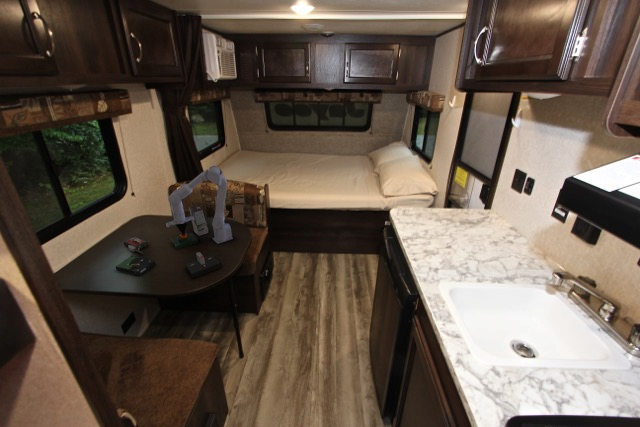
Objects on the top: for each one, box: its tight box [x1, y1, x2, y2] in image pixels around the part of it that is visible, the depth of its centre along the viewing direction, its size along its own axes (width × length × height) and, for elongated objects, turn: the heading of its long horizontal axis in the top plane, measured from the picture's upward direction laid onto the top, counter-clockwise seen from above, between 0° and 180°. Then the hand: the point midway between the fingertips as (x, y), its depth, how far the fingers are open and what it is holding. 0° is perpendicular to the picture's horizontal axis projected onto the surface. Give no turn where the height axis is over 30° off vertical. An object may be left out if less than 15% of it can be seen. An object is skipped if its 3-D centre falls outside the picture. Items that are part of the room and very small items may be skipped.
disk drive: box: [114, 255, 156, 277], centre depth 147 cm, size 10×3×15 cm
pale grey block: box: [195, 251, 205, 265], centre depth 147 cm, size 6×2×4 cm, turn 40°
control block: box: [170, 232, 199, 250], centre depth 170 cm, size 12×10×4 cm
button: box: [178, 232, 188, 239], centre depth 169 cm, size 4×4×2 cm
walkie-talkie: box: [123, 236, 149, 255], centre depth 163 cm, size 9×4×20 cm
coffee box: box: [188, 204, 209, 237], centre depth 179 cm, size 9×6×16 cm
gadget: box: [184, 254, 222, 279], centre depth 148 cm, size 14×12×3 cm
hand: (183, 234), depth 168 cm, fingers closed
